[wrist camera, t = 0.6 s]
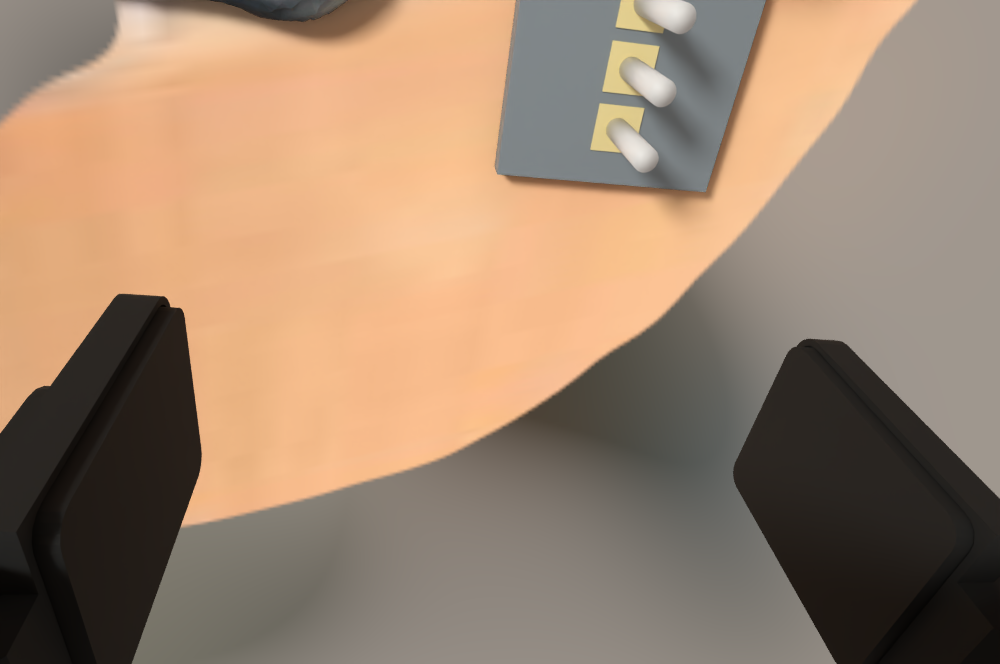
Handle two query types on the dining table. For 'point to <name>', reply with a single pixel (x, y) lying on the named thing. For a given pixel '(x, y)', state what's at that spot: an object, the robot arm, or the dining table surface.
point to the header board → (622, 89)
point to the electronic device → (287, 8)
